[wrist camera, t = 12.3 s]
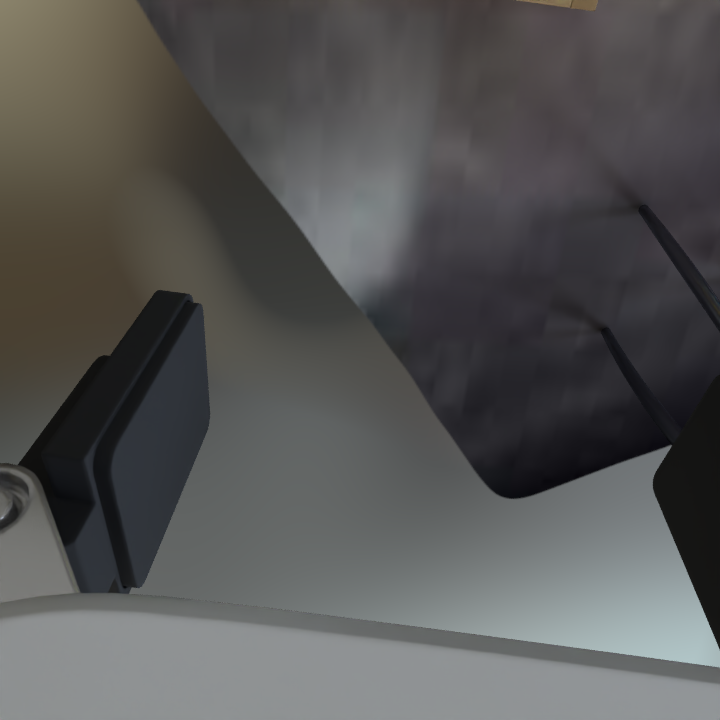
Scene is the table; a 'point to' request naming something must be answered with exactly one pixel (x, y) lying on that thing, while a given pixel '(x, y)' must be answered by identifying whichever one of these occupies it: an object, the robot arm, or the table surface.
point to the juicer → (704, 294)
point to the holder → (568, 3)
